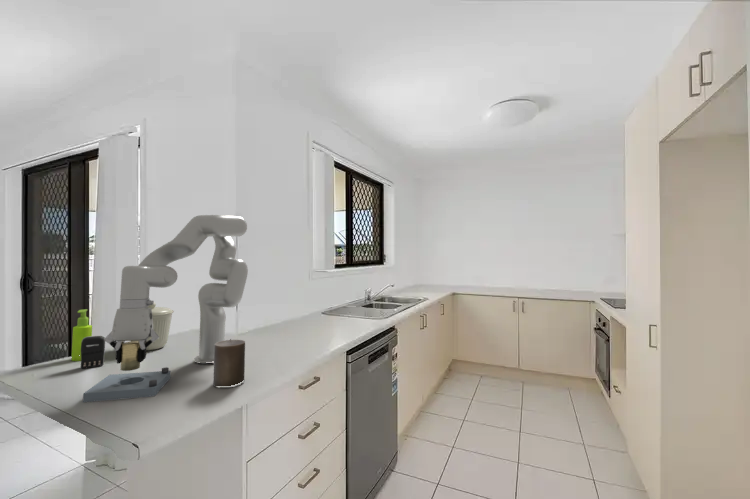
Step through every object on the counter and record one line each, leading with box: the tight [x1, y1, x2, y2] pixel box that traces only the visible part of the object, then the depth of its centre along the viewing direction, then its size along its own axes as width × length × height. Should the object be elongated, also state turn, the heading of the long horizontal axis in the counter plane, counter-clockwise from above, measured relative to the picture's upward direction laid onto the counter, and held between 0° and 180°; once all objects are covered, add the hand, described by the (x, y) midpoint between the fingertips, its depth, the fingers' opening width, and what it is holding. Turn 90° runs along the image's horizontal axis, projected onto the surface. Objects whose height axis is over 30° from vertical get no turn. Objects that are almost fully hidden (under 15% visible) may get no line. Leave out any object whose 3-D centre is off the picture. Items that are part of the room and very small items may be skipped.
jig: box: [82, 366, 172, 403], centre depth 106 cm, size 18×16×4 cm
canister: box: [137, 302, 175, 352], centre depth 152 cm, size 18×18×21 cm
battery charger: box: [80, 335, 106, 369], centre depth 125 cm, size 7×4×11 cm, turn 126°
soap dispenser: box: [70, 308, 93, 362], centre depth 134 cm, size 6×7×20 cm
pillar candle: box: [212, 338, 246, 386], centre depth 112 cm, size 10×10×15 cm
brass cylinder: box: [119, 341, 141, 372], centre depth 106 cm, size 5×5×8 cm
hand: (130, 361), depth 105 cm, fingers closed on brass cylinder, 5 cm apart
